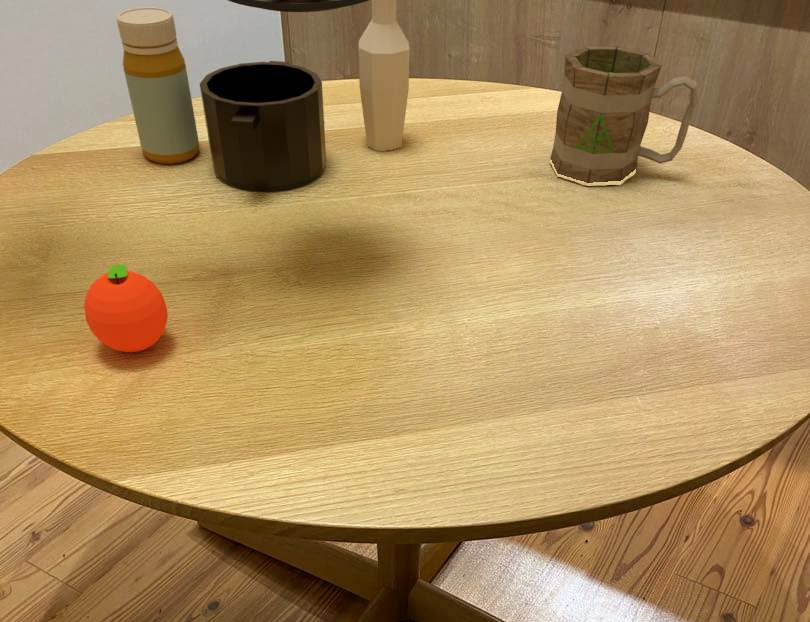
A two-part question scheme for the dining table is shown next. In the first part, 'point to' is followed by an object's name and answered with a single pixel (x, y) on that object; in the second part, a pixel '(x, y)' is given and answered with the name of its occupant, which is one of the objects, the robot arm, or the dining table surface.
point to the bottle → (158, 85)
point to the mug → (610, 113)
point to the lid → (298, 4)
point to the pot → (265, 125)
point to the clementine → (125, 310)
